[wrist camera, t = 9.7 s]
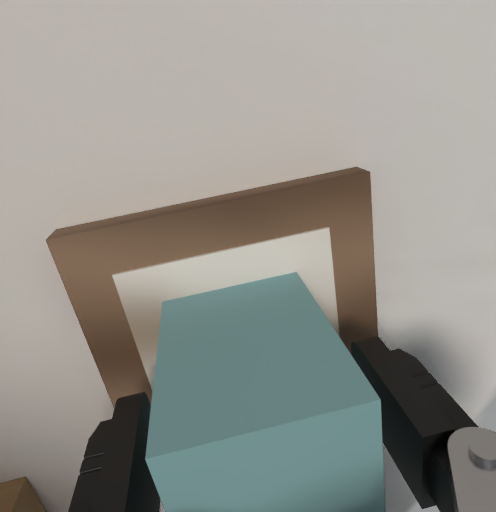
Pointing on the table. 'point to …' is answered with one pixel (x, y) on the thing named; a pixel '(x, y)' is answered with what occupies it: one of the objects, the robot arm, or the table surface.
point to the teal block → (261, 406)
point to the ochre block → (19, 497)
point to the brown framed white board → (217, 264)
